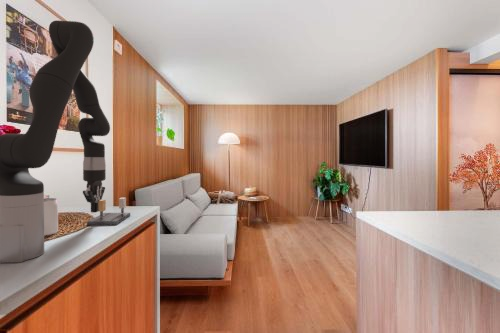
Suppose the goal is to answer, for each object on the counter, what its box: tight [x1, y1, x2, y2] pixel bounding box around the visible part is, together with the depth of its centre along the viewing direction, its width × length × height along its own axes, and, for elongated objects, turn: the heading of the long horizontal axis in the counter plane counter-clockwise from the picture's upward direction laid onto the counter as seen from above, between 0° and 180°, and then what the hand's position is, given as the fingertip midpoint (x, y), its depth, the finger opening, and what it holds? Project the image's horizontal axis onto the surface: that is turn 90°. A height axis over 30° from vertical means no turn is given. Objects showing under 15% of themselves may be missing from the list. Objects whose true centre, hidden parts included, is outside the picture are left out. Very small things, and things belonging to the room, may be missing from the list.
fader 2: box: [118, 197, 127, 213], centre depth 111 cm, size 3×2×7 cm
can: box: [44, 197, 59, 237], centre depth 87 cm, size 6×6×12 cm
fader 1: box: [98, 199, 107, 217], centre depth 105 cm, size 3×2×7 cm
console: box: [86, 212, 131, 226], centre depth 106 cm, size 15×11×2 cm
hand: (94, 211), depth 99 cm, fingers closed
